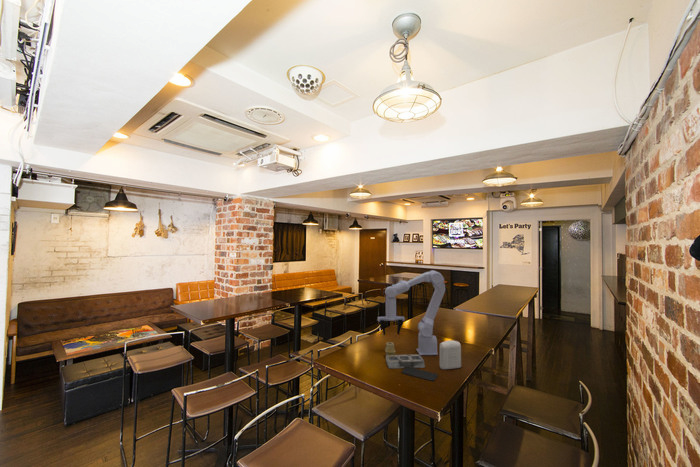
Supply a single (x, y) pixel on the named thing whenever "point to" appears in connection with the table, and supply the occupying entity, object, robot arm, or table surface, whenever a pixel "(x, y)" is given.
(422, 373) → the phone
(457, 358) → the photo printer
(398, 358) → the slotted metal bracket
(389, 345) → the tan block with hole
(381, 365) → the table surface
